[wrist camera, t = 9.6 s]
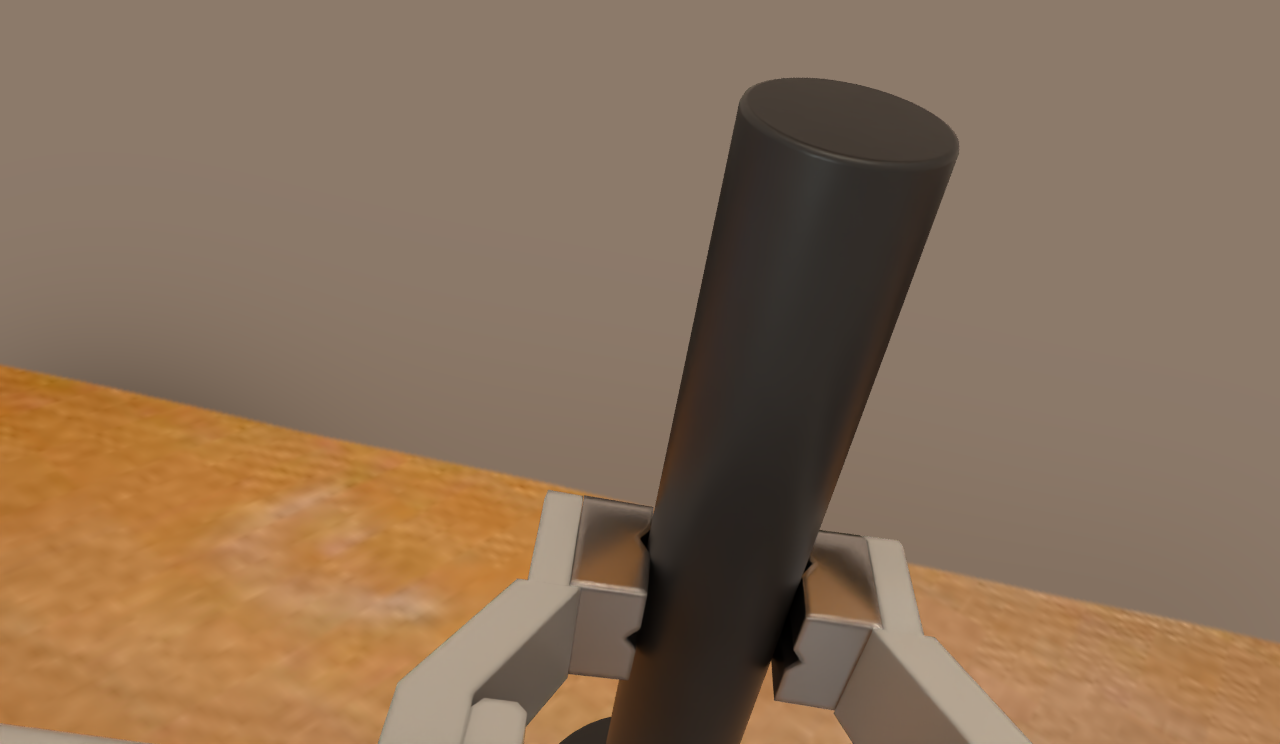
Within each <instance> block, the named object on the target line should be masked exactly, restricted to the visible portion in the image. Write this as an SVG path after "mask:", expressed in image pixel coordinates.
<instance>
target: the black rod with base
mask: <svg viewBox="0 0 1280 744" xmlns="http://www.w3.org/2000/svg"><path fill="white" fill-rule="evenodd" d="M958 155H959V141H958V138H957V136H956V134H955V132H954V131H953V130H952V129H951V128H950V127H949V126H948V125H947V124H946V123H945V122H944V121H942V120H941V119H940V118H938V117H937V116H935V115H934V114H932V113H931V112H929V111H927V110H925V109H923V108H922V107H920V106H917V105H915V104H913V103H912V102H909V101H907V100H904V99H902V98H899V97H897V96H894V95H892V94H889V93H886V92H882V91H879V90H876V89H872V88H869V87H865V86H861V85H857V84H852V83H847V82H841V81H834V80H827V79H817V78H783V79H774V80H769V81H765V82H761V83H758V84H756V85H754V86H752V87H750V88H749V89H748V90H747V91H746V92H745V93H744V95H743V96H742V98H741V99H740V102H739V106H738V111H737V116H736V121H735V125H734V130H733V135H732V140H731V145H730V149H729V154H728V159H727V164H726V169H725V173H724V178H723V183H722V188H721V193H720V197H719V202H718V208H717V212H716V217H715V221H714V226H713V231H712V236H711V241H710V245H709V250H708V256H707V260H706V265H705V270H704V274H703V279H702V284H701V289H700V294H699V298H698V303H697V308H696V313H695V318H694V323H693V327H692V332H691V337H690V342H689V346H688V351H687V356H686V361H685V366H684V371H683V375H682V380H681V385H680V390H679V395H678V399H677V404H676V409H675V414H674V419H673V423H672V428H671V433H670V438H669V443H668V447H667V453H666V457H665V462H664V467H663V472H662V476H661V481H660V486H659V491H658V496H657V501H656V505H655V510H654V515H653V520H652V524H651V529H650V534H649V539H648V544H647V548H646V549H647V550H648V551H649V553H650V568H649V580H648V592H647V599H646V604H645V608H644V613H643V618H642V623H641V628H640V629H639V630H638V631H637V640H636V651H635V655H634V660H633V664H632V668H631V672H630V677H629V680H620V679H619V683H618V688H617V693H616V697H615V702H614V707H613V712H612V717H608V718H604V719H601V720H598V721H596V722H593V723H590V724H588V725H586V726H584V727H582V728H581V729H579V730H577V731H575V732H574V733H572V734H571V735H570V736H568V737H567V738H565V739H564V740H563V741H562V742H560V743H559V744H740V742H741V740H742V737H743V734H744V731H745V729H746V726H747V723H748V721H749V718H750V715H751V713H752V710H753V707H754V704H755V702H756V699H757V696H758V694H759V691H760V688H761V686H762V683H763V680H764V678H765V675H766V672H767V669H768V667H769V664H770V661H771V659H772V656H773V653H774V651H775V648H776V645H777V642H778V640H779V637H780V634H781V632H782V629H783V626H784V624H785V621H786V618H787V616H788V613H789V610H790V607H791V605H792V602H793V599H794V597H795V594H796V591H797V589H798V586H799V583H800V580H801V578H802V575H803V572H804V570H805V567H806V564H807V562H808V559H809V556H810V554H811V551H812V548H813V545H814V543H815V540H816V537H817V535H818V532H819V529H820V527H821V524H822V521H823V518H824V516H825V513H826V510H827V508H828V505H829V502H830V500H831V497H832V494H833V492H834V489H835V486H836V483H837V481H838V478H839V475H840V473H841V470H842V467H843V465H844V462H845V459H846V456H847V454H848V451H849V448H850V445H851V443H852V440H853V438H854V435H855V432H856V429H857V427H858V424H859V421H860V419H861V416H862V413H863V411H864V408H865V405H866V403H867V400H868V397H869V395H870V392H871V389H872V386H873V384H874V381H875V378H876V376H877V373H878V370H879V368H880V365H881V362H882V359H883V357H884V354H885V351H886V349H887V346H888V343H889V341H890V338H891V335H892V333H893V330H894V327H895V324H896V322H897V319H898V316H899V313H900V311H901V308H902V306H903V303H904V300H905V297H906V294H907V292H908V289H909V287H910V284H911V281H912V279H913V276H914V273H915V270H916V268H917V265H918V262H919V260H920V257H921V254H922V252H923V249H924V246H925V243H926V241H927V238H928V235H929V233H930V230H931V227H932V225H933V222H934V219H935V216H936V214H937V211H938V209H939V206H940V203H941V200H942V198H943V195H944V192H945V189H946V187H947V184H948V182H949V179H950V176H951V173H952V171H953V168H954V165H955V163H956V160H957V157H958Z"/></svg>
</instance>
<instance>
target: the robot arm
mask: <svg viewBox="0 0 1280 744" xmlns="http://www.w3.org/2000/svg"><path fill="white" fill-rule="evenodd" d="M582 503H583V506H582ZM581 511H582V512H581ZM652 520H653V507H650V506H644V505H638V504H632V503H626V502H621V501H615V500H609V499H603V498H597V497H591V496H585V495H584V500H583V496H580V495H574V494H568V493H563V492H557V491H551V490H548V492H547V494H546V497H545V500H544V505H543V509H542V514H541V519H540V524H539V528H538V533H537V538H536V543H535V548H534V552H533V557H532V562H531V567H530V572H529V576H528V580H524V579H516V580H515V581H514V582H513V583H512V584H511V585H510V586H508V587H507V588H506V589H505V590H504V591H503V592H501V593H500V594H499V595H498V596H497V597H496V598H495V599H493V600H492V601H491V602H490V603H489V604H488V605H486V606H485V607H484V608H483V609H482V610H481V611H480V612H478V613H477V614H476V615H475V616H474V617H473V618H472V619H470V620H469V621H468V622H467V623H466V624H465V625H463V626H462V627H461V628H460V629H459V630H458V631H457V632H455V633H454V634H453V635H452V636H451V637H450V638H448V639H447V640H446V641H445V642H444V643H443V644H442V645H440V646H439V647H438V648H437V649H436V650H435V651H434V652H432V653H431V654H430V655H429V656H428V657H427V658H425V659H424V660H423V661H422V662H421V663H420V664H419V665H417V666H416V667H415V668H414V669H413V670H412V671H411V672H409V673H408V674H407V675H406V676H405V677H404V678H402V679H401V680H400V681H399V682H398V683H397V686H396V689H395V692H394V695H393V699H392V702H391V705H390V708H389V711H388V714H387V717H386V720H385V723H384V726H383V729H382V732H381V735H380V738H379V741H378V744H524V737H525V728H526V726H527V725H528V724H529V723H530V721H531V720H532V719H533V718H534V717H535V715H536V714H537V713H538V712H539V711H540V710H541V708H542V707H543V706H544V705H545V704H546V702H547V701H548V700H549V699H550V698H551V697H552V695H553V694H554V693H555V692H556V691H557V689H558V688H559V687H560V686H561V685H562V683H563V682H564V681H565V680H566V679H567V677H568V674H574V675H583V676H592V677H601V678H610V679H620V680H629V677H630V672H631V668H632V664H633V660H634V655H635V651H636V640H637V631H638V630H639V629H640V628H641V623H642V618H643V613H644V608H645V604H646V599H647V592H648V580H649V568H650V553H649V551H648V550H647V549H646V548H647V544H648V539H649V534H650V529H651V524H652ZM771 663H772V677H773V691H774V701H780V702H786V703H792V704H798V705H804V706H811V707H817V708H823V709H829V710H835V712H834V714H835V716H836V718H837V719H838V721H839V722H840V724H841V725H842V727H843V729H844V730H845V732H846V733H847V735H848V736H849V738H850V740H851V741H852V743H853V744H1033V743H1032V742H1031V741H1030V740H1029V739H1028V738H1027V737H1026V736H1025V735H1024V734H1023V733H1022V732H1021V730H1020V729H1019V728H1018V727H1017V726H1016V725H1015V724H1014V723H1013V722H1012V721H1011V720H1010V719H1009V717H1008V716H1007V715H1006V714H1005V713H1004V712H1003V711H1002V710H1001V709H1000V708H999V707H998V706H997V704H996V703H995V702H994V701H993V700H992V699H991V698H990V697H989V696H988V695H987V694H986V693H985V691H984V690H983V689H982V688H981V687H980V686H979V685H978V684H977V683H976V682H975V681H974V680H973V678H972V677H971V676H970V675H969V674H968V673H967V672H966V671H965V670H964V669H963V668H962V667H961V665H960V664H959V663H958V662H957V661H956V660H955V659H954V658H953V657H952V656H951V655H950V653H949V652H948V651H947V650H946V649H945V648H944V647H943V646H942V645H941V644H940V643H939V642H938V640H937V639H936V638H935V637H930V636H924V633H923V629H922V624H921V620H920V616H919V612H918V607H917V603H916V599H915V595H914V590H913V586H912V582H911V578H910V573H909V569H908V565H907V561H906V557H905V552H904V548H903V546H902V545H901V543H900V542H899V541H898V540H891V539H883V538H876V537H868V536H863V537H862V536H860V535H852V534H846V533H838V532H831V531H823V530H819V532H818V535H817V537H816V540H815V543H814V545H813V548H812V551H811V554H810V556H809V559H808V562H807V564H806V567H805V570H804V572H803V575H802V578H801V580H800V583H799V586H798V589H797V591H796V594H795V597H794V599H793V602H792V605H791V607H790V610H789V613H788V616H787V618H786V621H785V624H784V626H783V629H782V632H781V634H780V637H779V640H778V642H777V645H776V648H775V651H774V653H773V656H772V659H771ZM0 744H152V743H145V742H137V741H130V740H122V739H115V738H107V737H100V736H92V735H85V734H77V733H70V732H62V731H55V730H47V729H40V728H32V727H25V726H17V725H10V724H2V723H0Z"/></svg>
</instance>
